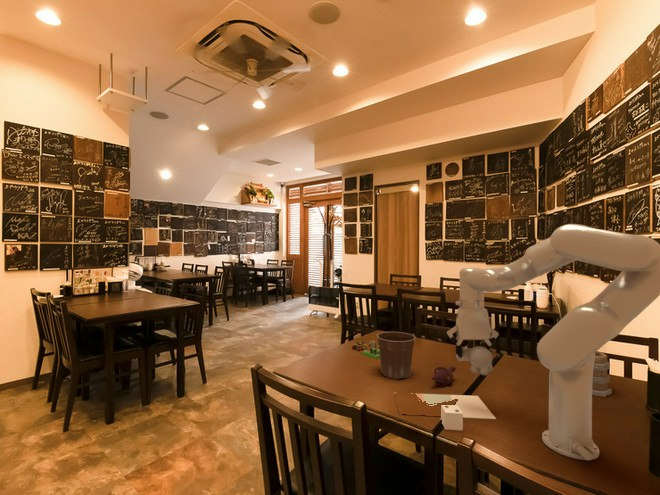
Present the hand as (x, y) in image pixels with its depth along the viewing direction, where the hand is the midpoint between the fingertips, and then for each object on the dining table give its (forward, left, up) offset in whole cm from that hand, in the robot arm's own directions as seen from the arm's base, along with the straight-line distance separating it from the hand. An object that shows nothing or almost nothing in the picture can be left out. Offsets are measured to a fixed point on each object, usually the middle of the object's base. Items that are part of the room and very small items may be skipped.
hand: (472, 356), depth 113 cm
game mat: (0, +10, -17) cm, 20 cm away
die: (-13, +10, -17) cm, 24 cm away
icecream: (+19, +5, -17) cm, 26 cm away
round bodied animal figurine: (0, 0, -5) cm, 5 cm away
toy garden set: (+60, +28, -18) cm, 69 cm away
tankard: (+19, -46, -17) cm, 52 cm away
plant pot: (+27, +22, -17) cm, 39 cm away
